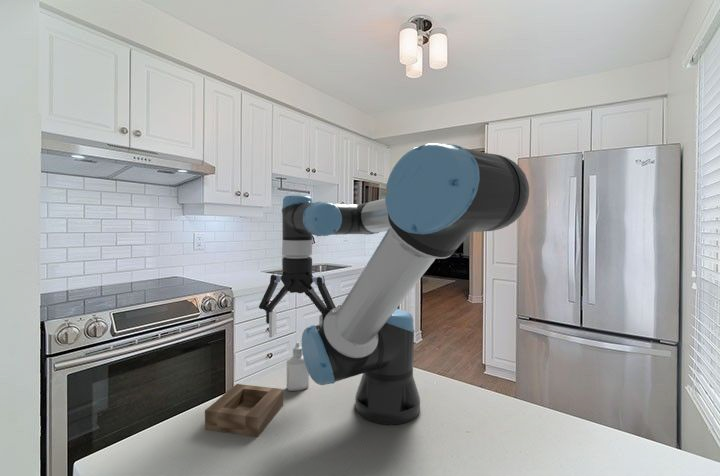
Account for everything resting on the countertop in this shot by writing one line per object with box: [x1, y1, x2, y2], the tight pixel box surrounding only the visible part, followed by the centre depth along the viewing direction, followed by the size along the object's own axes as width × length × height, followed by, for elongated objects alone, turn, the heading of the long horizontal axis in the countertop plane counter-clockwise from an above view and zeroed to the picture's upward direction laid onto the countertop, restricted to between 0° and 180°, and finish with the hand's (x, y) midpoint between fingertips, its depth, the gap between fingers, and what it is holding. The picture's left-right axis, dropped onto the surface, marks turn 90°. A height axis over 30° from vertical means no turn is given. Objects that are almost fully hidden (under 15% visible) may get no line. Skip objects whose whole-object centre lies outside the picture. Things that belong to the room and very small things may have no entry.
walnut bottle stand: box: [204, 383, 284, 437], centre depth 76 cm, size 12×12×4 cm
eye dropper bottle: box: [286, 341, 310, 392], centre depth 90 cm, size 4×6×12 cm
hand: (297, 338), depth 89 cm, fingers open, 13 cm apart
